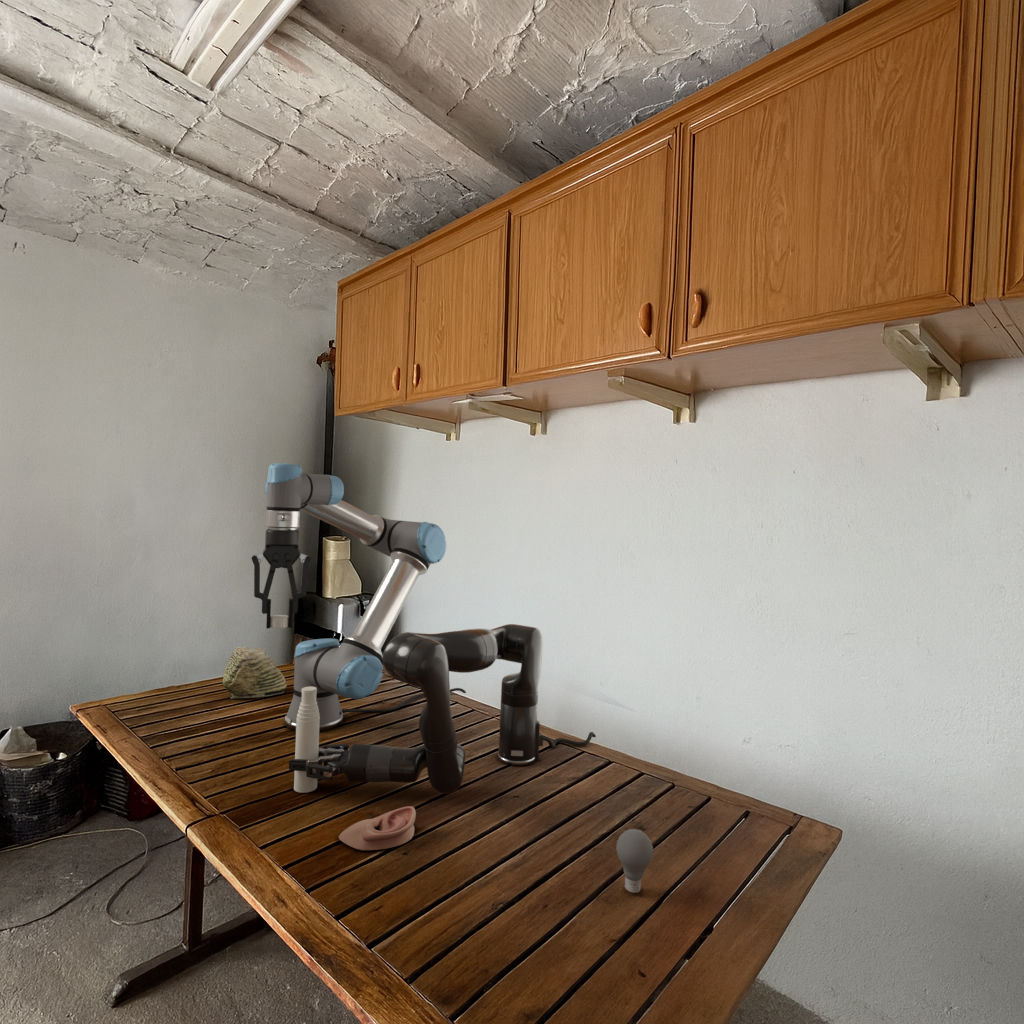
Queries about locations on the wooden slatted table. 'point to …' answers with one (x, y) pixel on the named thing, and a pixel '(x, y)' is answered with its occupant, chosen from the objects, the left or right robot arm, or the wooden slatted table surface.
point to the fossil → (252, 674)
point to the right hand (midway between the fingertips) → (294, 759)
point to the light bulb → (634, 857)
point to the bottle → (307, 738)
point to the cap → (279, 621)
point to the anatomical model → (381, 830)
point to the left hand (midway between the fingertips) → (279, 626)
